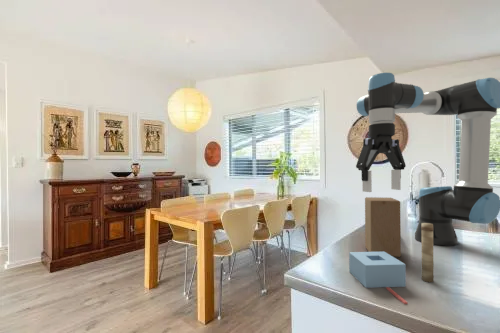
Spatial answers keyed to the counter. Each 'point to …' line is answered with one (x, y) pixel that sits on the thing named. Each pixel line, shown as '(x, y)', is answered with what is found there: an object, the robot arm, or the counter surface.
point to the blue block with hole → (377, 269)
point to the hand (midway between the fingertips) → (382, 190)
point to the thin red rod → (396, 295)
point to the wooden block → (383, 225)
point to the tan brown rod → (427, 252)
